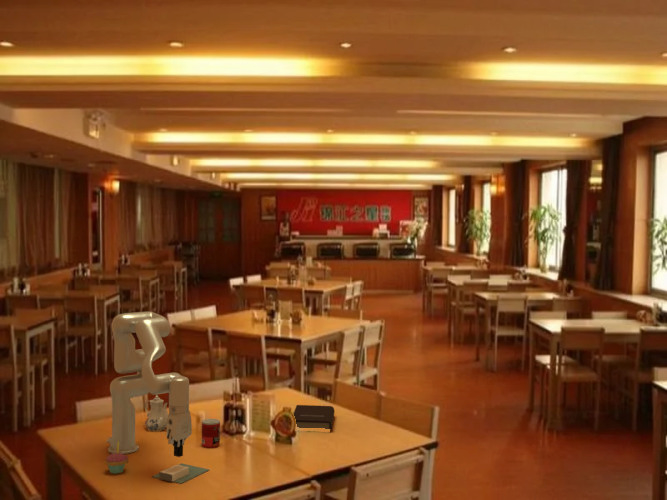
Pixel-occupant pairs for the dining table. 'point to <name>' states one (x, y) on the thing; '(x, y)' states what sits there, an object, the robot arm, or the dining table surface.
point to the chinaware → (156, 415)
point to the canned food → (210, 433)
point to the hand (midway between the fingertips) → (178, 455)
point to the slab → (173, 473)
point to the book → (314, 416)
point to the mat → (192, 474)
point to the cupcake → (116, 461)
